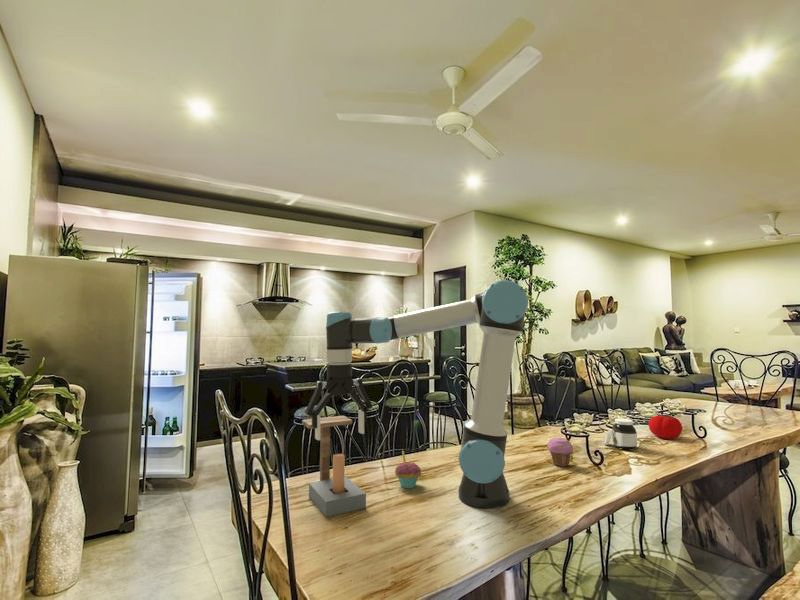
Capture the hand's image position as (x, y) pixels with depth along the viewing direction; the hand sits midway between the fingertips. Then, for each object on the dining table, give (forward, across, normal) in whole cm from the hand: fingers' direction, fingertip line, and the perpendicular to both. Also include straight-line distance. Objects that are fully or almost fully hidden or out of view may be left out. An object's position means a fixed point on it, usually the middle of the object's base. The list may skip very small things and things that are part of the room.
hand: (340, 436), depth 123 cm
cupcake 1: (+20, -24, -3) cm, 32 cm away
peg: (+20, 0, 0) cm, 20 cm away
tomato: (+22, -158, +4) cm, 160 cm away
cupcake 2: (+21, -84, +7) cm, 87 cm away
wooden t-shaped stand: (+19, +1, -11) cm, 23 cm away
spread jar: (+21, -126, +3) cm, 127 cm away
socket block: (+20, 0, -2) cm, 20 cm away
